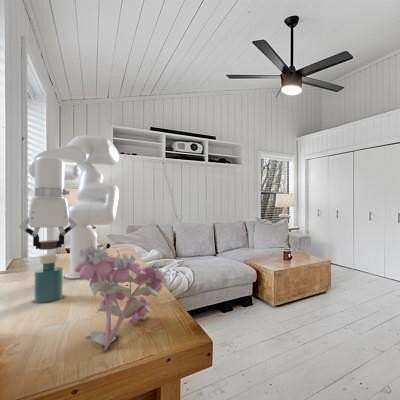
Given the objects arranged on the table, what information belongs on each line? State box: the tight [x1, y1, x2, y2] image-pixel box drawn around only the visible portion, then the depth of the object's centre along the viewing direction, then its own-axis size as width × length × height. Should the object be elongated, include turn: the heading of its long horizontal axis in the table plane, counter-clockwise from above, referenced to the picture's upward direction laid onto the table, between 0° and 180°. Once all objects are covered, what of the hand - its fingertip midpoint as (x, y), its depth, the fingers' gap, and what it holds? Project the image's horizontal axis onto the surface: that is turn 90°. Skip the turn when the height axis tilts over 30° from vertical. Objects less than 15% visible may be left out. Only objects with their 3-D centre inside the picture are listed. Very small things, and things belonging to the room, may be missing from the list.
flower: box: [75, 243, 168, 351], centre depth 76 cm, size 20×22×25 cm
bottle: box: [33, 252, 64, 304], centre depth 99 cm, size 7×7×15 cm
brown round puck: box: [38, 239, 60, 251], centre depth 98 cm, size 5×5×2 cm
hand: (49, 247), depth 98 cm, fingers closed on brown round puck, 5 cm apart
